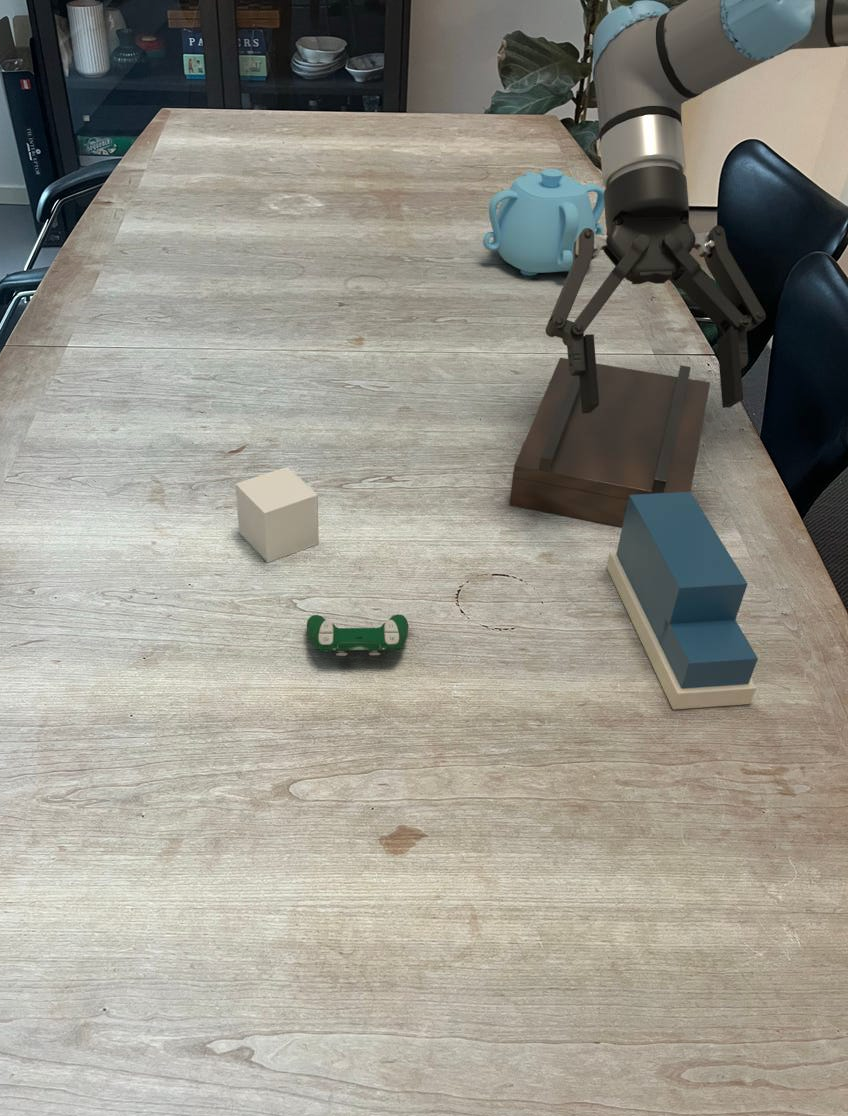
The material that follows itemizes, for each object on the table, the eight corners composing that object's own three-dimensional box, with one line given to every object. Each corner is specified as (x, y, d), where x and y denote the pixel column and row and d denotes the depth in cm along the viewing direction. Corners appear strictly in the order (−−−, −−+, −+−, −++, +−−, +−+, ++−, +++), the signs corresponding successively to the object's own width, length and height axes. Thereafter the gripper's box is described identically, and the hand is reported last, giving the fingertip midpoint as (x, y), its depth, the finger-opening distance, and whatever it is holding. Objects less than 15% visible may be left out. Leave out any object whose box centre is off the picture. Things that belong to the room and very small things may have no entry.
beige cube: (267, 563, 103) (264, 513, 99) (239, 533, 107) (234, 483, 103) (319, 543, 105) (318, 494, 101) (289, 515, 109) (287, 466, 105)
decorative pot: (467, 265, 160) (475, 173, 151) (520, 234, 170) (530, 146, 160) (560, 293, 153) (574, 198, 144) (610, 259, 162) (626, 168, 153)
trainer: (606, 567, 103) (622, 491, 97) (673, 563, 104) (694, 488, 98) (672, 710, 89) (696, 631, 83) (750, 704, 89) (780, 625, 83)
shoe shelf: (700, 419, 126) (713, 370, 121) (678, 538, 107) (693, 486, 103) (554, 394, 130) (561, 345, 125) (508, 505, 111) (515, 452, 107)
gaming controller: (307, 656, 95) (305, 654, 89) (307, 615, 96) (305, 611, 90) (406, 655, 96) (412, 653, 90) (406, 614, 96) (411, 610, 90)
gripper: (753, 198, 101) (771, 412, 100) (503, 203, 99) (519, 422, 98) (791, 159, 94) (812, 389, 93) (523, 163, 91) (540, 399, 90)
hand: (662, 407), depth 95 cm, fingers open, 13 cm apart
